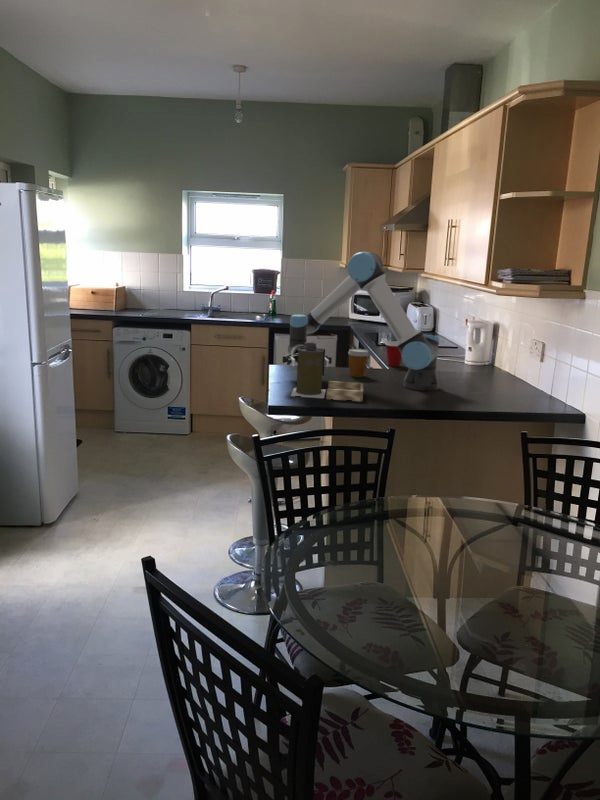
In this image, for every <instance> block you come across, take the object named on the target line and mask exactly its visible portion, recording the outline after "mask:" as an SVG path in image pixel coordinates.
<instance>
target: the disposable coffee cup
mask: <svg viewBox="0 0 600 800" xmlns="http://www.w3.org/2000/svg"><path fill="white" fill-rule="evenodd" d="M347 353H348V363H349V376H351V377H353V376H354V378H363V377H364V375H365V371H366V365H367V360H368V357H369V350H368V349H363V348H350V349H349V351H348V352H347Z"/></svg>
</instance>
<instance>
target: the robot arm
mask: <svg viewBox="0 0 600 800" xmlns="http://www.w3.org/2000/svg"><path fill="white" fill-rule="evenodd" d="M346 269H347V273H348V276H347V277H346V278H344V280H343V281H342V282H340V284H339V285H337V286H336V287H335V288H334V289H333V290H332V291H331V292H329V294H328V295H326V297H324V299H323V300H322V301H320V302H319V303H318V305H316V306H315V307H314V308H313V309H312V310H311V311H310V312H309V313H308V314H307V315H306V314H299V313H298V314H297V313H296V314H292V315H291V316H290V321H289V341H288V342H289V344H288V346H287V354H285V355H283V356H282V364H284V363H285V364H286V365H287V366H290V365H291V366H292V367H295V366H296V363H297V364H298V348H303V347H306V345H305V344H304V343H306V342H307V339H308V335H310V334H314V333H315V332H317V331H318V330H319V328H320V326H322V325H323V324H324V323H325V322H326V321H327V320H328V319H329V318H331V316H332V315H333V314H334V313H336V312H337V311H338V310H339V309H340V308H342V306H343V305H344V304H346V302H347V301H349V300H350V299H351V298H352V297H353V296H354V295H355V294H357V292H359V291H360V289H361V291H362V292H363V291H364V292H367V294H368V296H369V297H370V298H371V300H372V302H373V303H374V306H375V307H376V308H377V310H378V311H379V313H380V314H381V317H382V318H383V319H384V321H385V323H386V324H387V326H388V327H389V329H390V331H391V333H392V334H393V336H394V337H395V339H396V341H397V348H398V349H399V351H400V352H401V357H402V359H401V361H402V362H403V364H404V365H405V366H406V367H407V368H408V370H407V373H406V375H405V377H404V380H403V387H404V388H406V389H411V390H415V391H424V390H428V391H427V392H429V391H437V390H439V387H440V383H439V378H438V373H437V366H438V365H437V363H438V354H439V345H440V338H439V336H438V335H432V334H431V335H430V334H423V332H422V331H421V330H418V329H416V328H415V326H414V324H413V323H412V321H411V320H410V318H409V317H408V315H407V314H406V312H405V310H404V308H403V307H402V306H401V304H400V303H399V300H398V299H397V298H396V295H395V294H394V293H393V291H392V289H391V288H390V286H389V285H388V283H387V282H386V276H387V274H386V273H385V271H384V262H383V259H382V258H381V256H379V255H378V254H376V253H375V252H372V251H371V252H369V251H368V252H367V251H360V252H359V251H358V252H357V253H355V254H353V255H352V256H351V257H350V259H349V261H348V262H347V267H346ZM332 360H333V358H332V357H331V356H329V355H325V362H324V367H326V368H329V365H330V364H332Z"/></svg>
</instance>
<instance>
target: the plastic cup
mask: <svg viewBox="0 0 600 800" xmlns="http://www.w3.org/2000/svg"><path fill="white" fill-rule="evenodd" d="M384 345H385V348H386V355H387V356H386V357H387V365H388V366H389V367H397V368H398V367H400V365H401V361H402V357H401V352H400V351H399V349H398V348H397V340H395V341H394V340H391V341H386V342H384Z"/></svg>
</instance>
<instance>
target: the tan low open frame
mask: <svg viewBox="0 0 600 800" xmlns="http://www.w3.org/2000/svg"><path fill="white" fill-rule="evenodd" d="M325 397H326V398H325V399H326V400H331V399H333V400H335V401H346V400H352V401H351V402H363V400H364V398H363V397H364V383H363V382H350V381H349V382H347V381H334V380H328V387H327V388H326V396H325Z"/></svg>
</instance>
